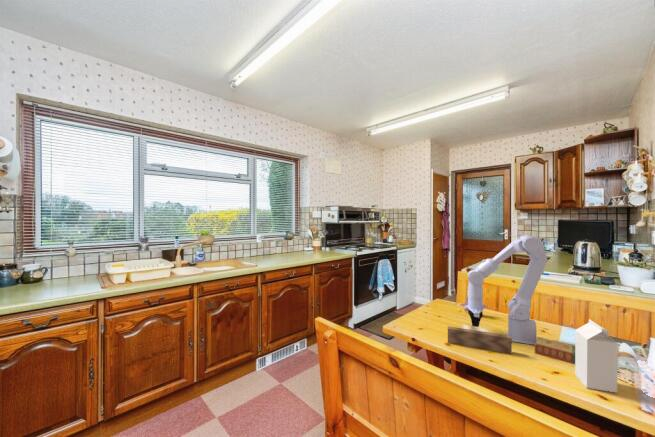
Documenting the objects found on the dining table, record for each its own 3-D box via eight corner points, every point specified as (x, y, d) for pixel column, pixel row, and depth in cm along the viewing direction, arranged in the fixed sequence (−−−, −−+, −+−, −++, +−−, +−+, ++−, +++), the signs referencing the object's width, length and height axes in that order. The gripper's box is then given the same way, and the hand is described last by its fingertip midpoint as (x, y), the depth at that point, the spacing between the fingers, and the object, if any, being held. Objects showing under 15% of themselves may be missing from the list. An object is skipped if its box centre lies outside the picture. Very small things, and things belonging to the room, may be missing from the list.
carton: (537, 346, 108) (537, 336, 108) (593, 361, 97) (593, 349, 97) (534, 354, 102) (534, 343, 102) (594, 371, 91) (594, 358, 91)
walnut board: (510, 351, 104) (510, 335, 104) (511, 354, 102) (511, 338, 101) (447, 340, 113) (447, 326, 113) (447, 342, 111) (447, 328, 111)
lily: (492, 319, 137) (488, 300, 141) (481, 315, 130) (478, 295, 135) (468, 320, 145) (465, 302, 150) (457, 316, 139) (454, 298, 143)
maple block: (488, 340, 113) (488, 328, 113) (488, 348, 107) (488, 335, 107) (462, 335, 118) (462, 324, 118) (460, 342, 112) (460, 330, 112)
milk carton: (586, 388, 82) (587, 326, 81) (574, 375, 88) (575, 317, 88) (617, 393, 79) (618, 329, 79) (603, 379, 86) (603, 320, 85)
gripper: (464, 291, 128) (464, 320, 128) (466, 301, 115) (466, 332, 115) (481, 293, 125) (481, 322, 125) (485, 303, 112) (485, 335, 112)
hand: (475, 327), depth 120 cm, fingers closed
